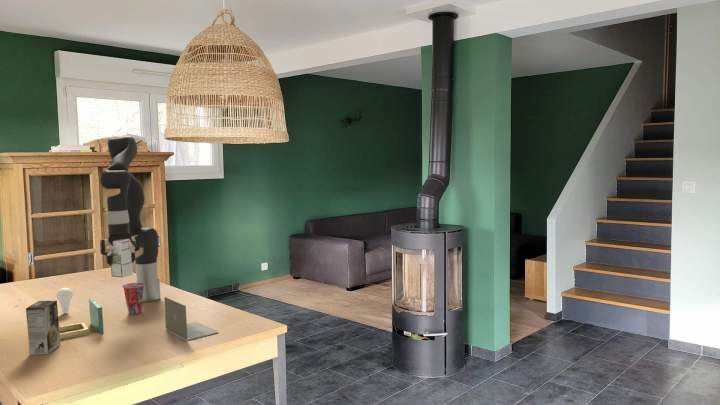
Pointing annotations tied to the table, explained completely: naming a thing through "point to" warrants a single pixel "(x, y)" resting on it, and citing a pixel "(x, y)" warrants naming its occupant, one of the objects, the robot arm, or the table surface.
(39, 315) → the coffee box
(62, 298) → the lightbulb
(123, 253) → the syrup box
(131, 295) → the cup
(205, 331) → the laptop
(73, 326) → the tan and teal pieces
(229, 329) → the table surface
